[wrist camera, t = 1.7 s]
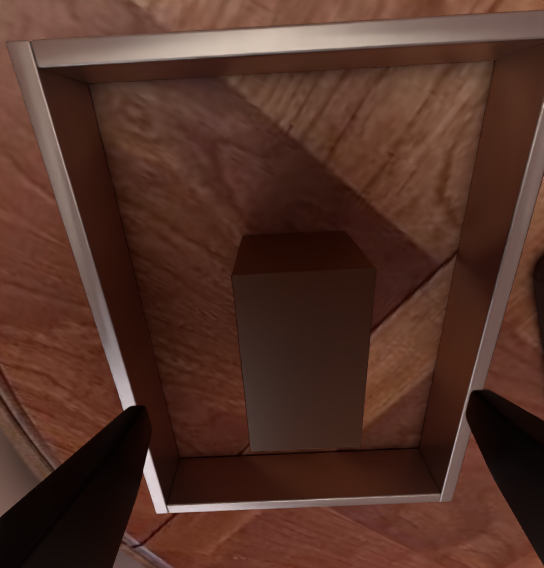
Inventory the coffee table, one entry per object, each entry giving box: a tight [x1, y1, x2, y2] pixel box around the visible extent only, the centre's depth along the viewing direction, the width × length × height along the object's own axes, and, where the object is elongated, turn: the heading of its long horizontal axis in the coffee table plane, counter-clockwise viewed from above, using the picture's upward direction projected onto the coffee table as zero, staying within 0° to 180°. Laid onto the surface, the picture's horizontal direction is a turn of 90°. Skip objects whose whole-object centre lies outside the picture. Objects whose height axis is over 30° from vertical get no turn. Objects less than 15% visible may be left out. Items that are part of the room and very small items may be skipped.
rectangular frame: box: [6, 10, 544, 514], centre depth 13 cm, size 19×14×2 cm
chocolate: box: [231, 231, 376, 452], centre depth 12 cm, size 7×4×4 cm, turn 3°
